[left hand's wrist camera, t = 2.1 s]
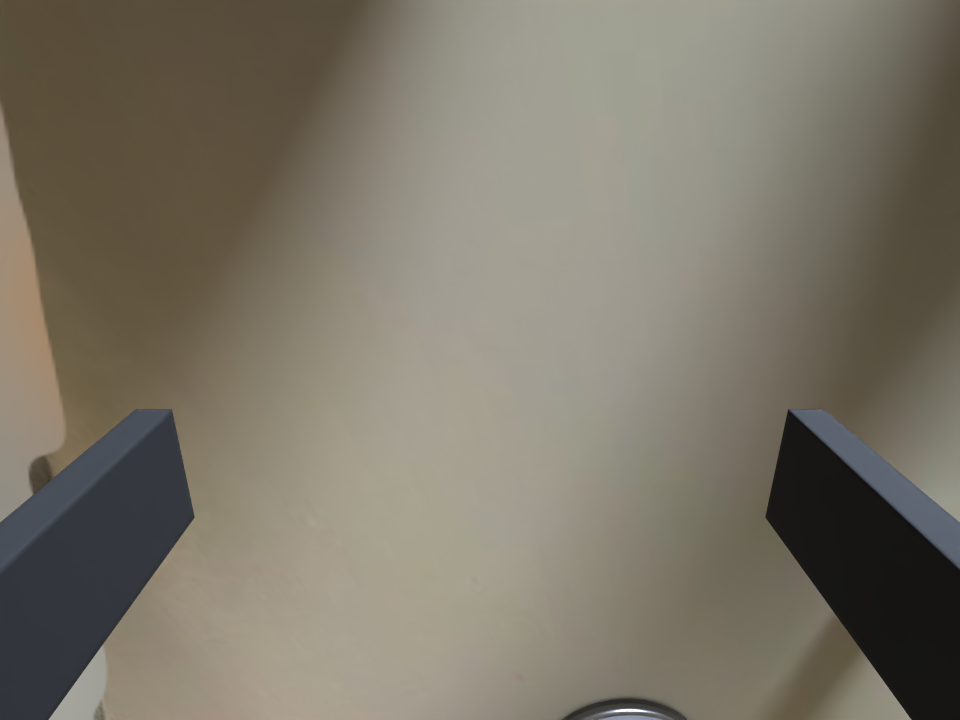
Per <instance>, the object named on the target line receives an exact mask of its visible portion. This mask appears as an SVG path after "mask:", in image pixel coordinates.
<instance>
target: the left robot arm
mask: <svg viewBox="0 0 960 720" xmlns="http://www.w3.org/2000/svg"><path fill="white" fill-rule="evenodd" d="M193 519H194V512H193V507H192V503H191V498H190V493H189V488H188V484H187V479H186V474H185V470H184V465H183V460H182V455H181V451H180V446H179V441H178V436H177V432H176V427H175V422H174V417H173V413H172V409H136V410H135V411H133V412H132V413H131V414H130V415H129V416H127V417H126V418H125V419H124V420H123V421H121V422H120V423H119V424H118V425H117V426H115V427H114V428H113V429H112V430H111V431H109V432H108V433H107V434H106V435H105V436H103V437H102V438H101V439H100V440H99V441H97V442H96V443H95V444H94V445H93V446H91V447H90V448H89V449H88V450H87V451H85V452H84V453H83V454H82V455H81V456H79V457H78V458H77V459H76V460H75V461H73V462H72V463H71V464H70V465H69V466H68V467H66V468H65V469H64V470H63V471H62V472H60V473H59V474H58V475H57V476H56V477H54V478H53V479H52V480H51V481H50V482H48V483H47V484H46V485H45V486H44V487H42V488H41V489H40V490H39V491H38V492H36V493H35V494H34V495H33V496H32V497H30V498H29V499H28V500H27V501H26V502H24V503H23V504H22V505H21V506H20V507H18V508H17V509H16V510H15V511H14V512H12V513H11V514H10V515H9V516H8V517H6V518H5V519H4V520H3V521H2V522H0V720H48V719H49V718H50V717H51V715H52V714H53V713H54V711H55V710H56V708H57V707H58V706H59V704H60V703H61V701H62V700H63V699H64V697H65V696H66V695H67V693H68V692H69V690H70V689H71V688H72V686H73V685H74V683H75V682H76V681H77V679H78V678H79V677H80V675H81V674H82V672H83V671H84V670H85V668H86V667H87V665H88V664H89V663H90V661H91V660H92V659H93V657H94V656H95V654H96V653H97V652H98V650H99V649H100V647H101V646H102V645H103V643H104V642H105V641H106V639H107V638H108V636H109V635H110V634H111V632H112V631H113V629H114V628H115V627H116V625H117V624H118V623H119V621H120V620H121V618H122V617H123V616H124V614H125V613H126V611H127V610H128V609H129V607H130V606H131V605H132V603H133V602H134V600H135V599H136V598H137V596H138V595H139V593H140V592H141V591H142V589H143V588H144V587H145V585H146V584H147V582H148V581H149V580H150V578H151V577H152V575H153V574H154V573H155V571H156V570H157V569H158V567H159V566H160V564H161V563H162V562H163V560H164V559H165V557H166V556H167V555H168V553H169V552H170V551H171V549H172V548H173V546H174V545H175V544H176V542H177V541H178V539H179V538H180V537H181V535H182V534H183V533H184V531H185V530H186V528H187V527H188V526H189V524H190V523H191V521H192V520H193ZM766 519H767V520H768V521H769V523H770V524H771V526H772V527H773V528H774V530H775V531H776V533H777V534H778V535H779V537H780V538H781V539H782V541H783V542H784V544H785V545H786V546H787V548H788V549H789V551H790V552H791V553H792V555H793V556H794V557H795V559H796V560H797V562H798V563H799V564H800V566H801V567H802V569H803V570H804V571H805V573H806V574H807V575H808V577H809V578H810V580H811V581H812V582H813V584H814V585H815V587H816V588H817V589H818V591H819V592H820V593H821V595H822V596H823V598H824V599H825V600H826V602H827V603H828V605H829V606H830V607H831V609H832V610H833V611H834V613H835V614H836V616H837V617H838V618H839V620H840V621H841V623H842V624H843V625H844V627H845V628H846V629H847V631H848V632H849V634H850V635H851V636H852V638H853V639H854V641H855V642H856V643H857V645H858V646H859V647H860V649H861V650H862V652H863V653H864V654H865V656H866V657H867V659H868V660H869V661H870V663H871V664H872V665H873V667H874V668H875V670H876V671H877V672H878V674H879V675H880V677H881V678H882V679H883V681H884V682H885V683H886V685H887V686H888V688H889V689H890V690H891V692H892V693H893V695H894V696H895V697H896V699H897V700H898V701H899V703H900V704H901V706H902V707H903V708H904V710H905V711H906V713H907V714H908V715H909V717H910V718H911V719H912V720H960V522H958V521H957V520H956V519H955V518H954V517H952V516H951V515H950V514H949V513H948V512H946V511H945V510H944V509H943V508H942V507H940V506H939V505H938V504H937V503H936V502H934V501H933V500H932V499H931V498H930V497H928V496H927V495H926V494H925V493H924V492H922V491H921V490H920V489H919V488H918V487H916V486H915V485H914V484H913V483H912V482H910V481H909V480H908V479H907V478H906V477H904V476H903V475H902V474H901V473H900V472H898V471H897V470H896V469H895V468H894V467H892V466H891V465H890V464H889V463H888V462H887V461H885V460H884V459H883V458H882V457H881V456H879V455H878V454H877V453H876V452H875V451H873V450H872V449H871V448H870V447H869V446H867V445H866V444H865V443H864V442H863V441H861V440H860V439H859V438H858V437H857V436H855V435H854V434H853V433H852V432H851V431H849V430H848V429H847V428H846V427H845V426H843V425H842V424H841V423H840V422H839V421H837V420H836V419H835V418H834V417H833V416H831V415H830V414H829V413H828V412H827V411H825V410H824V409H788V413H787V417H786V422H785V427H784V432H783V436H782V441H781V446H780V451H779V455H778V460H777V465H776V470H775V474H774V479H773V484H772V488H771V493H770V498H769V503H768V507H767V512H766ZM563 720H687V719H686V718H685V717H684V716H682V715H681V714H679V713H678V712H676V711H674V710H673V709H671V708H668V707H666V706H664V705H661V704H658V703H654V702H649V701H644V700H633V699H622V700H611V701H605V702H600V703H596V704H593V705H590V706H587V707H584V708H582V709H580V710H578V711H576V712H574V713H572V714H570V715H569V716H567V717H566V718H564V719H563Z"/></svg>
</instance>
